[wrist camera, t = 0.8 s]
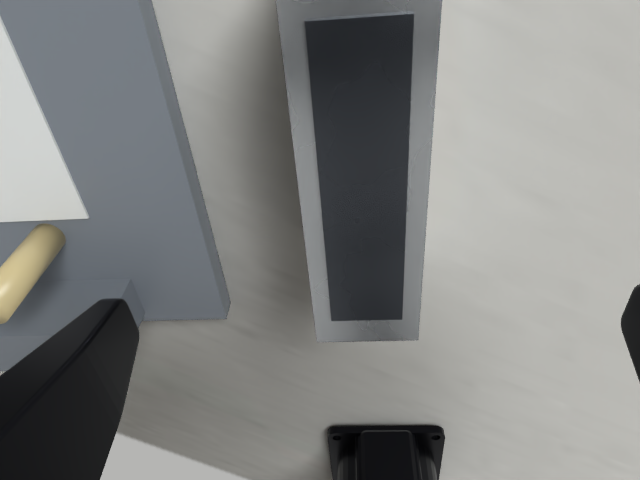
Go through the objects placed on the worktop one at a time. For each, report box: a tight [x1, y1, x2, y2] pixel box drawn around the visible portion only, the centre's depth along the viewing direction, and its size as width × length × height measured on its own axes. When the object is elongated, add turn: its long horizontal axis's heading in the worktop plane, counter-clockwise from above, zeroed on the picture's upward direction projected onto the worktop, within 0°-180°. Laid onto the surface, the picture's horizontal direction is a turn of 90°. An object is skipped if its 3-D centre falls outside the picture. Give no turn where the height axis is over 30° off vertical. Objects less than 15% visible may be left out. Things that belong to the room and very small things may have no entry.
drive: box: [276, 0, 442, 342], centre depth 14 cm, size 10×3×6 cm, turn 4°
